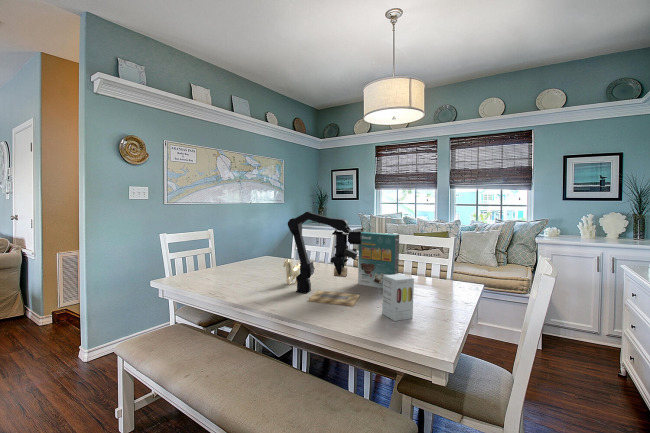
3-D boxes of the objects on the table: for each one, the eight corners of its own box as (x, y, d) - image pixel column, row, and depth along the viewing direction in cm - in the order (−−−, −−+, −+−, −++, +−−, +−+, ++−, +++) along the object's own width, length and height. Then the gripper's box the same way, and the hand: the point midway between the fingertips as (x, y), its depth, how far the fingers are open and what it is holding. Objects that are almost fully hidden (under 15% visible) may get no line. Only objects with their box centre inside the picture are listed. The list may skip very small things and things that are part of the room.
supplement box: (394, 321, 123) (395, 280, 123) (381, 313, 132) (382, 275, 131) (413, 318, 127) (414, 278, 126) (399, 310, 136) (400, 273, 135)
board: (308, 301, 148) (308, 298, 148) (317, 292, 161) (317, 290, 161) (353, 306, 141) (353, 303, 141) (359, 297, 155) (359, 294, 155)
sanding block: (333, 276, 157) (334, 268, 157) (335, 274, 161) (336, 266, 161) (345, 277, 156) (345, 269, 155) (347, 275, 159) (347, 267, 159)
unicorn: (298, 279, 187) (298, 251, 186) (303, 280, 185) (304, 252, 185) (280, 288, 169) (280, 257, 168) (286, 289, 167) (286, 257, 166)
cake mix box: (398, 287, 172) (399, 234, 171) (394, 290, 167) (395, 235, 166) (362, 281, 184) (363, 231, 183) (358, 284, 179) (358, 232, 178)
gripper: (353, 247, 146) (352, 279, 147) (359, 242, 164) (359, 271, 165) (330, 245, 149) (329, 277, 150) (339, 241, 167) (338, 269, 168)
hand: (340, 273), depth 158 cm, fingers closed on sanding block, 4 cm apart
